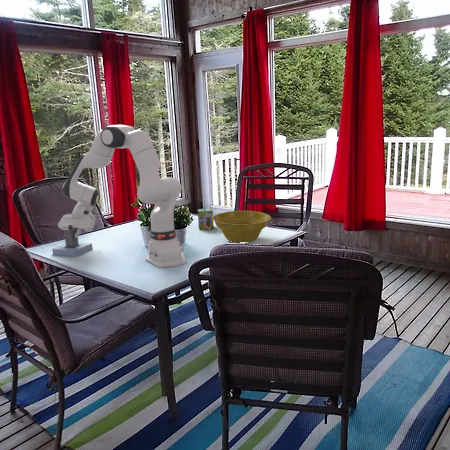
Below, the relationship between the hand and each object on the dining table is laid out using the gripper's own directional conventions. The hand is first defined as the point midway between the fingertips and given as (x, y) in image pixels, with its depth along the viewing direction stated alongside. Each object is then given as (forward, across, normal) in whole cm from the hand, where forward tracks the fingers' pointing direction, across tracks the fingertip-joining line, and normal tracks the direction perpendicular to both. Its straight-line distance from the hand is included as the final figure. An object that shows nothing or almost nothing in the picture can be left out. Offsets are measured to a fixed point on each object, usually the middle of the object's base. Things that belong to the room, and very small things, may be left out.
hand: (70, 236), depth 216 cm
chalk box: (-40, +49, +52) cm, 82 cm away
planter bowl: (-26, +79, +37) cm, 91 cm away
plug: (+3, 0, +4) cm, 5 cm away
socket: (+5, 0, +6) cm, 8 cm away
